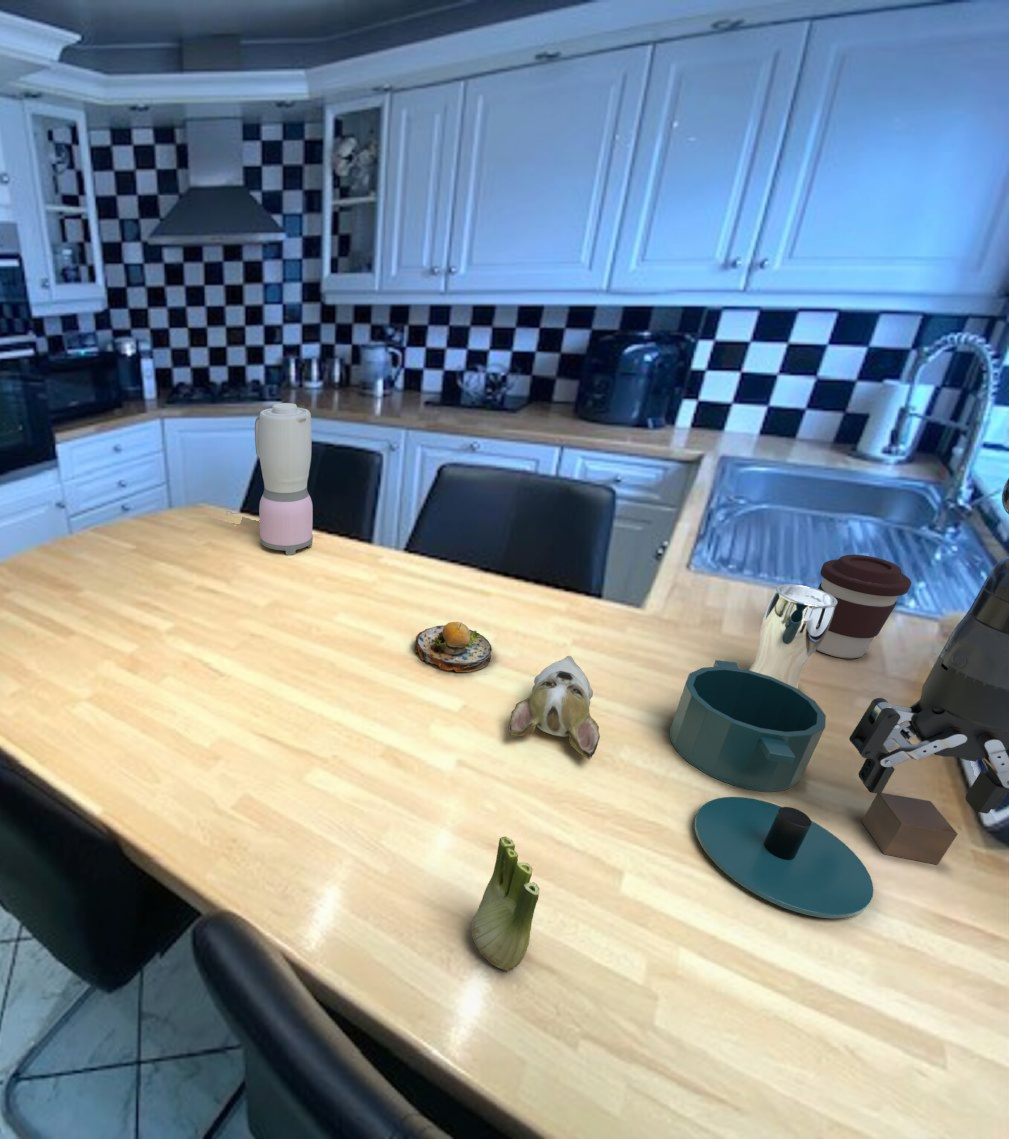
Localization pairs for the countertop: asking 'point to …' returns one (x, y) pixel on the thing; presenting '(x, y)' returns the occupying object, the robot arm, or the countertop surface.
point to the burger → (453, 647)
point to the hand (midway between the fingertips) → (921, 796)
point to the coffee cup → (859, 601)
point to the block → (909, 828)
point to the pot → (746, 727)
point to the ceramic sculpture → (559, 707)
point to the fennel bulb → (506, 910)
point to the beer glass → (792, 631)
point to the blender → (285, 477)
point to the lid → (784, 857)
